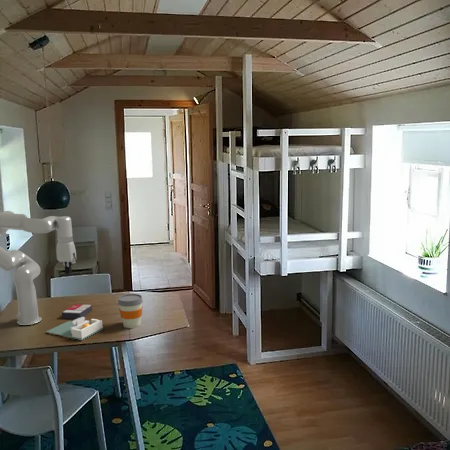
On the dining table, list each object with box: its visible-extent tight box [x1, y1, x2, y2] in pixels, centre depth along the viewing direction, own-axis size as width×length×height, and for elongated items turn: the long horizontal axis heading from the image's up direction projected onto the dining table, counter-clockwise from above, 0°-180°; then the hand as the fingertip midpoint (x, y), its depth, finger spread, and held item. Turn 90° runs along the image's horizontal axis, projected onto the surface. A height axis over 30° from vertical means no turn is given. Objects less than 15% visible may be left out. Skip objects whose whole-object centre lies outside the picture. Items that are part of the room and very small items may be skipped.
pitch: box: [45, 320, 104, 341], centre depth 248 cm, size 24×16×1 cm, turn 63°
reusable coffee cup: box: [117, 293, 144, 329], centre depth 253 cm, size 13×13×15 cm
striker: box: [70, 316, 91, 334], centre depth 246 cm, size 4×11×6 cm, turn 153°
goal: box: [71, 318, 104, 339], centre depth 244 cm, size 6×15×4 cm, turn 153°
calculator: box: [61, 303, 93, 320], centre depth 273 cm, size 11×4×15 cm
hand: (68, 273), depth 257 cm, fingers closed
